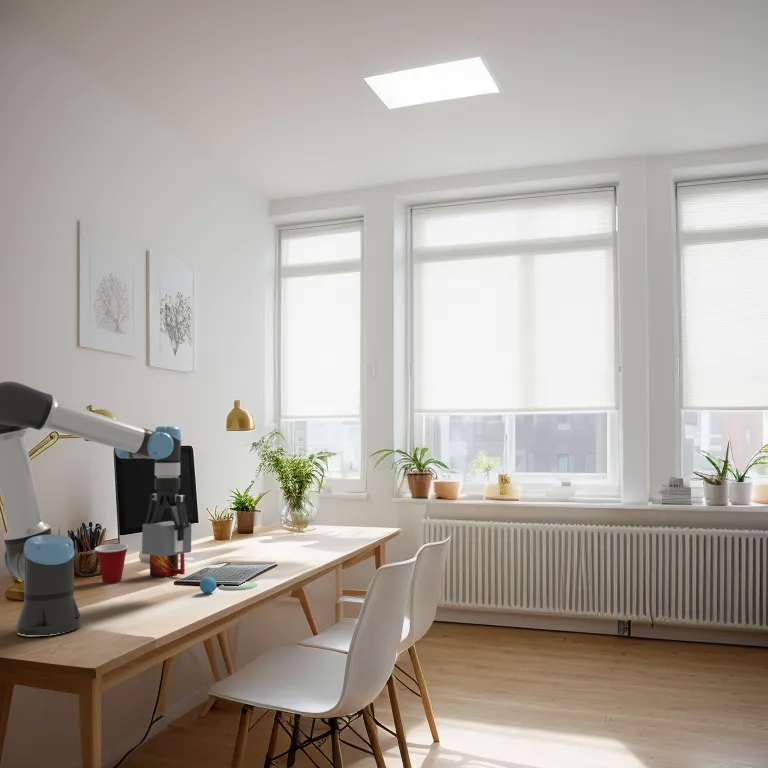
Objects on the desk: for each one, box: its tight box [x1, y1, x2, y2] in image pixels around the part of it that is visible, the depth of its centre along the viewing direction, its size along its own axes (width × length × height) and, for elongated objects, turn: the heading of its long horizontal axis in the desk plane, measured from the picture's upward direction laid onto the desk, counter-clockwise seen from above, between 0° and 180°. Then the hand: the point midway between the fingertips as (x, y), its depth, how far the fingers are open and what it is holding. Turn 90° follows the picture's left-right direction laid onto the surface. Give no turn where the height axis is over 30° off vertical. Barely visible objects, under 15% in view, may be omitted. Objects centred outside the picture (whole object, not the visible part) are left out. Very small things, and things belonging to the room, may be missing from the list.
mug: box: [149, 553, 186, 579], centre depth 262 cm, size 10×14×12 cm
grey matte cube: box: [141, 520, 192, 557], centre depth 228 cm, size 10×10×9 cm
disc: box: [218, 581, 258, 591], centre depth 240 cm, size 12×12×1 cm
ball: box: [199, 576, 217, 595], centre depth 231 cm, size 5×5×5 cm
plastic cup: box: [94, 543, 129, 584], centre depth 252 cm, size 11×11×12 cm
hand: (166, 550), depth 228 cm, fingers closed on grey matte cube, 10 cm apart
